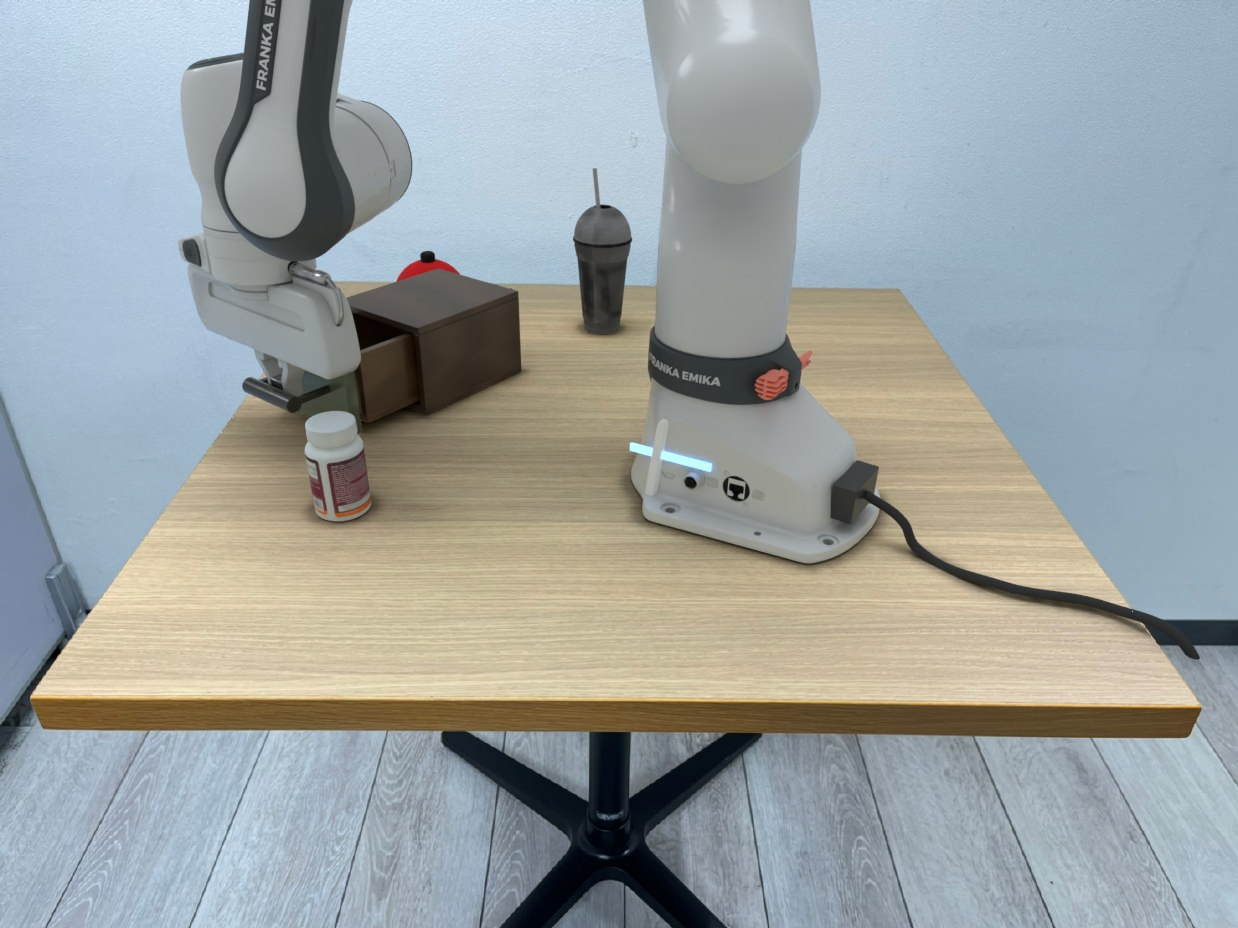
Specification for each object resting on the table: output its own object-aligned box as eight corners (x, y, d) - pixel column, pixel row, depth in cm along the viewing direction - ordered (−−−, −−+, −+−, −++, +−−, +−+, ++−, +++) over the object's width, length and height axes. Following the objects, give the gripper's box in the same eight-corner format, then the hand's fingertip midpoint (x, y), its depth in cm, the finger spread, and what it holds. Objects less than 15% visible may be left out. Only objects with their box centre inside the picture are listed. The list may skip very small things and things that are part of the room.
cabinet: (426, 415, 94) (418, 328, 89) (347, 383, 101) (336, 300, 96) (521, 371, 104) (518, 290, 100) (444, 345, 111) (438, 268, 106)
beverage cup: (641, 331, 116) (646, 170, 106) (593, 342, 112) (594, 176, 103) (609, 314, 121) (611, 159, 111) (562, 324, 118) (560, 165, 108)
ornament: (456, 313, 121) (450, 238, 116) (480, 336, 114) (475, 257, 109) (389, 323, 117) (380, 246, 112) (409, 347, 110) (401, 266, 105)
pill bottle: (379, 495, 80) (368, 410, 76) (360, 525, 76) (348, 436, 72) (327, 491, 81) (313, 406, 77) (305, 520, 77) (290, 432, 72)
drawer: (309, 457, 84) (296, 380, 80) (237, 422, 90) (221, 348, 86) (454, 391, 97) (448, 322, 93) (383, 364, 103) (375, 298, 99)
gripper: (368, 267, 77) (385, 413, 84) (228, 225, 88) (253, 358, 95) (305, 285, 73) (328, 438, 80) (166, 238, 83) (197, 377, 90)
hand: (287, 394), depth 87 cm, fingers closed, pressing on drawer
